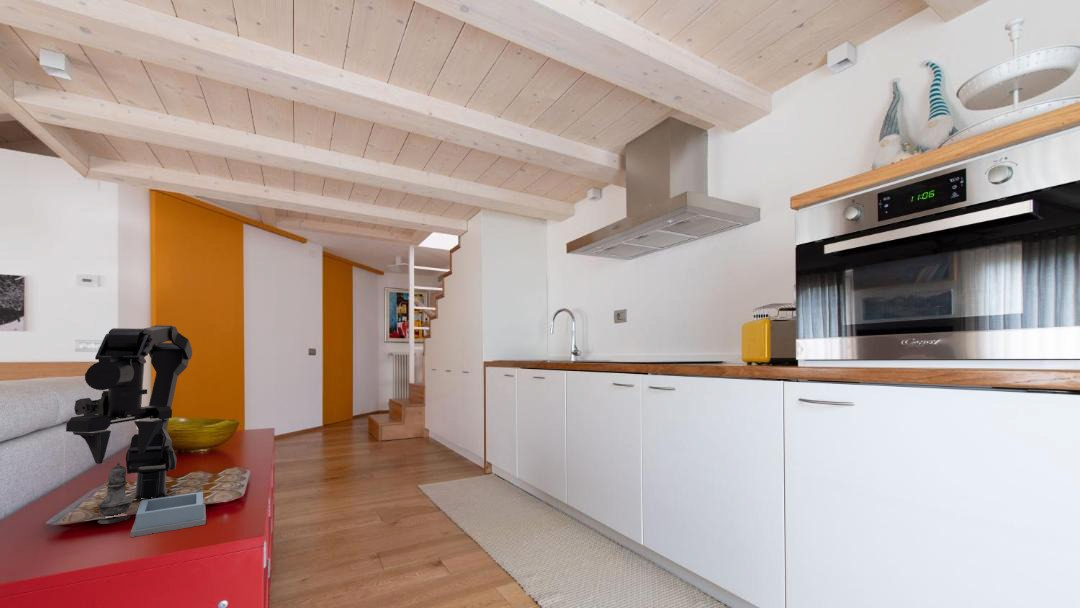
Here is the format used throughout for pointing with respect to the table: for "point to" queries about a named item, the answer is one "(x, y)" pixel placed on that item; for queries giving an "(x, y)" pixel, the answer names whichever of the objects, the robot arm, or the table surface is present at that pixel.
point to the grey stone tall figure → (115, 496)
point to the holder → (169, 514)
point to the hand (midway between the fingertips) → (120, 458)
